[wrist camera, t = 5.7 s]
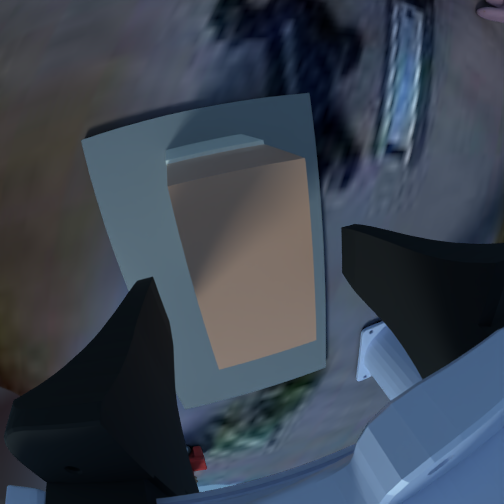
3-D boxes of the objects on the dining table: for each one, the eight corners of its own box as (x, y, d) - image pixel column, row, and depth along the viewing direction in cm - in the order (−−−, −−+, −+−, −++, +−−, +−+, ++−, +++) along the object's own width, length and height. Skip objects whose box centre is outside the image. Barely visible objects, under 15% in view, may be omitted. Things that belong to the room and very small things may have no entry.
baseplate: (305, 93, 18) (309, 93, 18) (323, 363, 29) (325, 367, 29) (83, 139, 16) (81, 140, 15) (184, 404, 27) (185, 409, 26)
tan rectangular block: (264, 144, 14) (305, 158, 10) (282, 289, 18) (316, 340, 14) (166, 164, 13) (167, 186, 9) (204, 311, 17) (219, 369, 13)
